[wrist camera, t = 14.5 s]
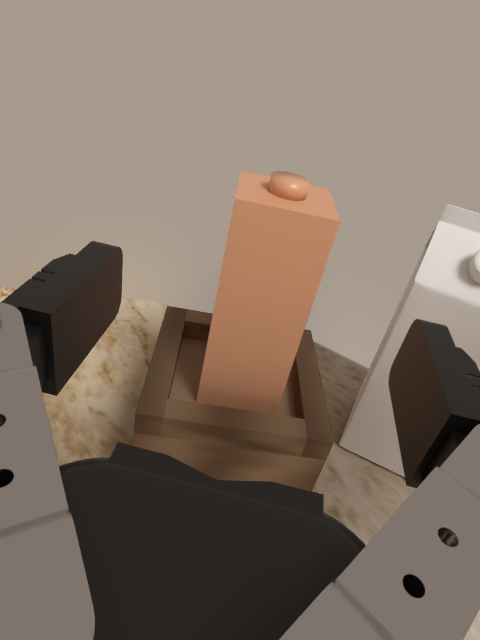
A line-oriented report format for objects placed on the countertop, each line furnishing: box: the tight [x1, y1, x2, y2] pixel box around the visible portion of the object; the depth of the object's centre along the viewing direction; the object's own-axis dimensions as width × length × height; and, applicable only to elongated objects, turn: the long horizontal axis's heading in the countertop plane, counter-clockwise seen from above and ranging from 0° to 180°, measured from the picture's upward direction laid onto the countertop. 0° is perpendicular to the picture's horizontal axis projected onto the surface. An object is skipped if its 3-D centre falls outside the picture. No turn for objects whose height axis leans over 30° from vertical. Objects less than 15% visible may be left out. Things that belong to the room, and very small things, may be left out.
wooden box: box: [133, 306, 334, 492], centre depth 31 cm, size 11×11×8 cm
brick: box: [196, 171, 340, 415], centre depth 26 cm, size 5×5×14 cm
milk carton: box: [339, 204, 480, 477], centre depth 32 cm, size 7×7×19 cm
